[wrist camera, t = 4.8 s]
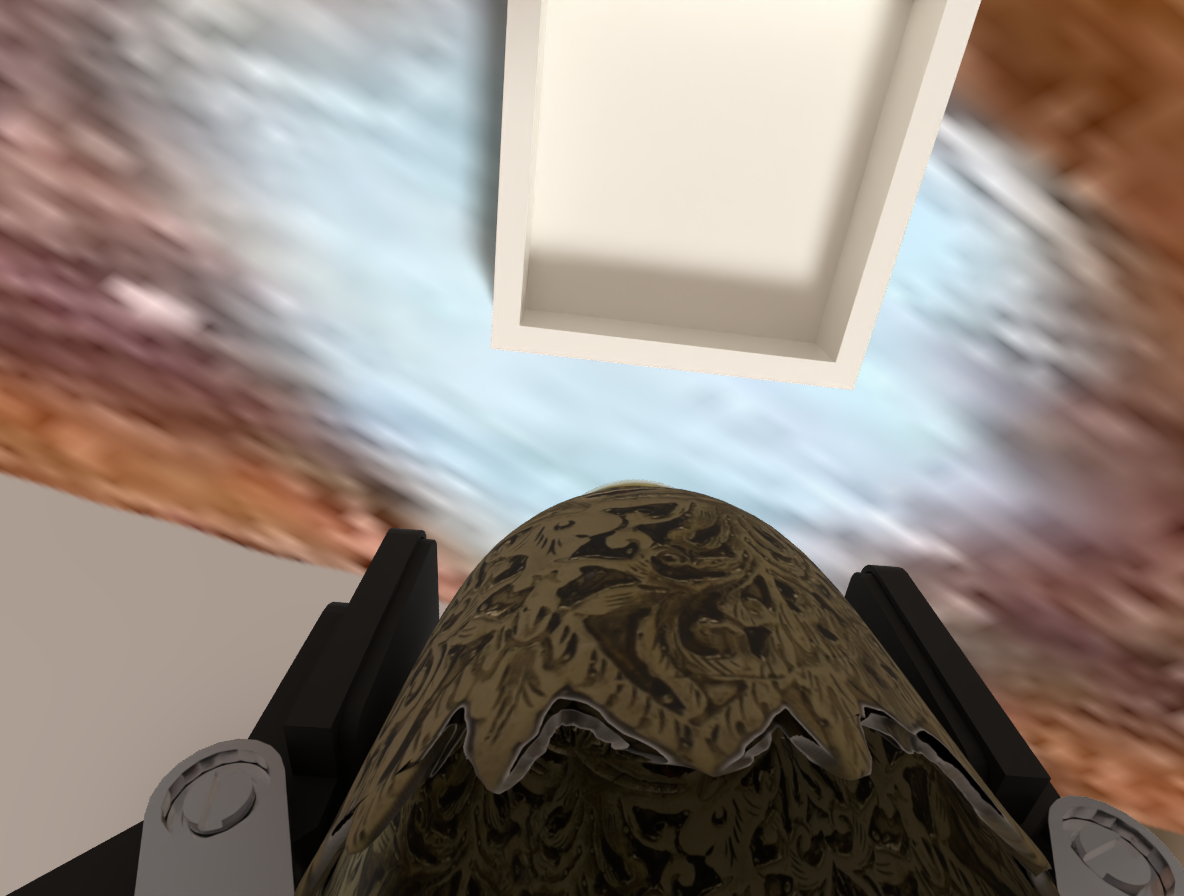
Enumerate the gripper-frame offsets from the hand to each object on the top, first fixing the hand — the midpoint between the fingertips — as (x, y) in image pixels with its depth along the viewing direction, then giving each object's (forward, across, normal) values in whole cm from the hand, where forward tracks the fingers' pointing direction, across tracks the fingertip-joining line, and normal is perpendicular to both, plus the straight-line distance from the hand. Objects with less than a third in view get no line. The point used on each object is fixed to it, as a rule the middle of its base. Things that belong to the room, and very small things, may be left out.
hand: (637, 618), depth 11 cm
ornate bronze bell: (+3, 0, 0) cm, 3 cm away
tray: (+17, -2, -7) cm, 19 cm away
